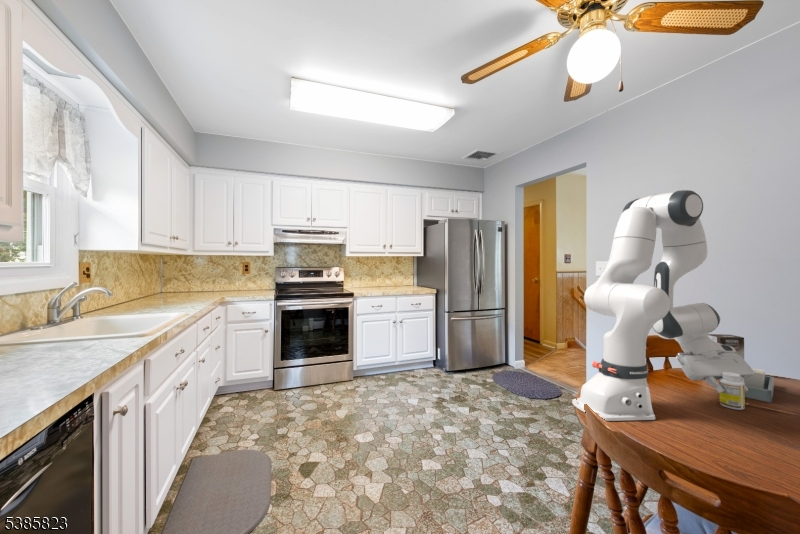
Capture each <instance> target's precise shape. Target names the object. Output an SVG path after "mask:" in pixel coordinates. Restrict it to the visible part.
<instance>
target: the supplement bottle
mask: <svg viewBox="0 0 800 534" xmlns="http://www.w3.org/2000/svg"><path fill="white" fill-rule="evenodd" d="M722 376H723V378H720V379H719V380H718V383H719V384H720V385H723V386H724V387H725V388H726V390H727V391H726V392H725V393H719V392H718V394H719V404H720V405H721V406H722V407H726V408H727V409H730V410H731V409H732V410H738V411H740V410H741V411H742V410H745V409H746V401H745V400H746V397H745V387H744V383H743V382H742V381H740V380H741V378H740V375H739V374H736V373H730V372H723V373H722Z"/></svg>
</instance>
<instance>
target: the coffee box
mask: <svg viewBox="0 0 800 534" xmlns="http://www.w3.org/2000/svg"><path fill="white" fill-rule="evenodd" d="M708 337H709V338H710V339H711V340H712V341H713V342H717V343H720V344H724V345H728V346H732V347H733V348H734V349H735V350H736V352H734V353H736V354H738V355H739V356H741V357H742V358H743V359H744V360H745V337H743V336H738V335H734V334H723V333H722V334H721V333H720V334H719V333H718V334H712V333H708Z"/></svg>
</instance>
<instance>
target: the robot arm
mask: <svg viewBox="0 0 800 534" xmlns="http://www.w3.org/2000/svg"><path fill="white" fill-rule="evenodd" d="M703 210H704V203H703V198H701V196H700V195H699V194H698V193H696V192H695V191H693V190H688V189H687V190H686V189H683V190H682V189H681V190H677V191H673V192H665V193H655V194H651V195H649V196H644V197H641V198H635V199H633V200H631V201H629V202H627V203H626V204H625V206H624V207H623V210H622V211H621V214H620V216H619V218H618V221H617V224H616V226H615V230H614V234H613V237H612V243H611V249H610V252H609V256H608V260H607V263H606V266H605V268H604V270H603V271H602V273H601V275H600V276H599V277H598V279H597V280H595V282H594V283H592V284H591V285H590V286H588V287H587V288H586V289H585V291H584V296H583V301H584V304H585V306H586V307H587V309H589V310H590V311H593V312H595V313H597V314H600V315H603V316H608V317H616V319H615V323H614V326H613V328H612V329H611V330H608V331H606V332H605V333H604V334H603V336H602V350H603V351H602V354H603V355H602V359H601V361H600V362H599V361H594V360H593V361H592V362H591V367H592V368H596V369H598V372H597V373H595V374H594V375H593V376H592V377H591V378H589V379H588V380H587V381H586V382H585V383H584V384H582V385H581V389H580V394H579V395H580V396H579V397H577V400H576V398H573V399H572V401H571V403H572V405H573V406H574V407H575V408H577V409H578V410H580V411H582V412H583V413H585V410H584V404H587V405H588V406H589V407H590V408H591V409H592V410H593V411H594V412H595V413H597V414H598V415H599V416H600V417H602V418H603V419H605V420H604V421H606V422H607V421H608V422H609V421H610V422H611V421H612V422H616V421H619V422H620V421H621V422H622V421H655V420H656V415H655V413H654V410H653V409H654V408H653V406H652V398H651V392H650V387H649V385H648V381H647V378H648V377H649V368H648V364H647V363H646V359H647V358H646V357H647V356H646V355H647V354H646V351H647V349H646V348H647V340H648V335H649V333H650V331H651V329H653V331H654V332H655V333H657V334H658V335H659V336H662V337H664V338H666V339H670V340H672V339H674V340H675V341H676V342H677V343H678V344H679V346H680V348H681V350H682V351H683V352H677V354H676V355H675V358H676V360H677V361H678V363H679V366H680V368H681V369H682V371H683V373H684V375H685V376H686V377H687V379H689V380H690V381H705V382H706V383H707V384H708V385H710V386H711V387H712V388H714V389H715V390H716V391H717V393H718V394H719V393H725V392H726V391H727V390H726V388H725V387H724V386H723V385H720V384H719V382H717V381H719V379H720V378H723V376H722V373H723V372H730V373H736V374H739V375H740V378H741V380H740V381H742V382H743V383H744V379H747V378H749V377H751V376H752V375H754V372H753V370H752V368H753V367H752V366H750V364H749V363H748V362H747V361H746V360H745V358H744V359H743V358H742V357H741V356H739V355H738V354H736V353H734V352H736V350H735V349H734V348H733V347H732V346H728V345H724V344H720V343H717V342H713V341H712V340H711V339H710V338H709V337H708V334H711V333H712V332H713V331H715V330H716V329H717V328H718V327H719V325H720V322H721V317H720V315H719V313H718V312H717V310H716V309H715V308H714V307H713V306H711V305H710V304H708V303H705V302H697V303H692V304H691V303H690V304H686V305H681V306H679V305H678V306H675V307H674V288H675V287H674V286H675V284H676V283H677V282H678V281H679V279H680V278H682V277H683V276H684V275H686V274H688V273H690V272H692V271H693V270H695V269H697V268H698V267H700V266H702V264H703V263H704V262H705V261H706V259H707V257H708V243H707V239H706V238H707V237H706V234H705V229H704V227H703V225H702V221H701V219H700V217H701V215H703V214H702V213H703ZM657 229H660V230H661V243H662V256H661V259H660V262H658V263H657V264H656V266H655V268H654V274H653V285H648V284H645V283H644V284H643V283H635V281H636V279H638V277H639V276H640V275H642V274H643V273H645V272H647V271H648V270H649V269H650V267H651V266H652V263H653V258H654V257H653V256H654V252H655V245H656V240H657ZM744 387H745V392H747V391H748V388H747V387H746V386H745V383H744Z"/></svg>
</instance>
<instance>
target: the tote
mask: <svg viewBox="0 0 800 534" xmlns="http://www.w3.org/2000/svg"><path fill="white" fill-rule="evenodd" d="M746 387H747V388H748V391H747V392H745V398H747V399H751V400H757V401H762V402H766V403H772V402H773V397H774V396H773V395H774V388H775V377H774V376H770V375H765V389H760V388H754V387H749V386H746Z"/></svg>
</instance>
